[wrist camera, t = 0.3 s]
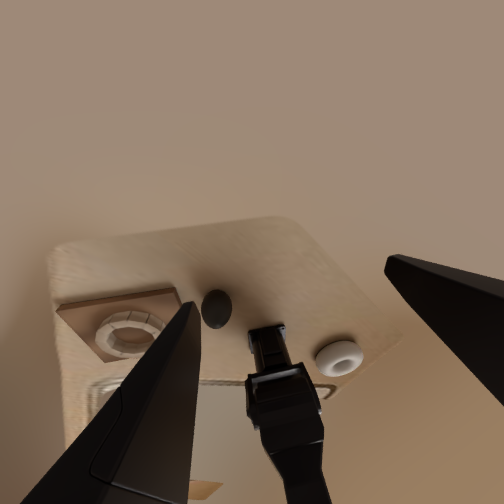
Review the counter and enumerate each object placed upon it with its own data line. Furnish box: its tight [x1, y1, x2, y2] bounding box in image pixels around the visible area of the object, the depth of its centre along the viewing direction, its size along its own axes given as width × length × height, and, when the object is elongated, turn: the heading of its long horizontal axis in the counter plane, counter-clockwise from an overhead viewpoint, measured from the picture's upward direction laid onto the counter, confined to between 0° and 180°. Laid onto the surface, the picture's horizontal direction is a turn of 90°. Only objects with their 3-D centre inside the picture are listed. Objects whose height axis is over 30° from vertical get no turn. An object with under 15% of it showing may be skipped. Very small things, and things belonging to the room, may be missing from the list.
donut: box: [316, 341, 363, 376], centre depth 39 cm, size 10×4×10 cm
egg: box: [201, 290, 232, 329], centre depth 24 cm, size 4×4×5 cm
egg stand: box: [55, 288, 182, 363], centre depth 26 cm, size 12×14×2 cm
